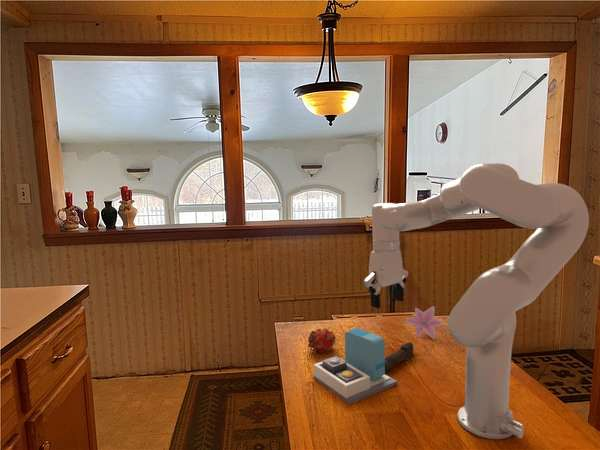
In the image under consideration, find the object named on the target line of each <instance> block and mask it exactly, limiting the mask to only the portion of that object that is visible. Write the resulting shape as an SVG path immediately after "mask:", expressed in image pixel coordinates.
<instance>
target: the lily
mask: <svg viewBox="0 0 600 450" xmlns="http://www.w3.org/2000/svg"><path fill="white" fill-rule="evenodd" d="M435 308H436V307H435V306H433V305H432V306H431V307H429V308H427V309H426V310H424V311H422V310H421V309H419V307H415V308H414V310H415V316H412V317H409V318H407V319H406V320H405V322H406V324H408V325H411V326H413V327H416V328H415V337H416V338H417V337H420V336H421V335H422V334H423V333H425V334H427V335H428V336H429V337H430V338H432V339H433V340H436V338H437V335H436V329H435V327H439V326H440V325H443V322H442V321H440V320H438V319H436V318H435V312H436V309H435Z"/></svg>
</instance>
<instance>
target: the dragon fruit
mask: <svg viewBox="0 0 600 450" xmlns="http://www.w3.org/2000/svg"><path fill="white" fill-rule="evenodd" d="M307 339H308V340H307V341H308V345H307V346H308V347H309V348H310V349H311V351H312V352H316V353H318V354H319V353H320V352H322V353H324V354H327V353H328V351H331V350H332V349H333V346H334V345H335V343H336V342H337V340H336V339H337V337H336V335H335V334H334V332H333V331H329V329H328V328H324V329H322V328H318V329H316V330H311V332H310V333H309V336H308V337H307Z"/></svg>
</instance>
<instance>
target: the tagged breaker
mask: <svg viewBox="0 0 600 450" xmlns="http://www.w3.org/2000/svg"><path fill="white" fill-rule="evenodd" d="M335 376H336V377H338V378H339V379H341V380H342V381H344V382H345V383H348V382H351V381H354V380H356V379H359V378H360V375H358V374H357V373H355V372H354V371H352V370H350V369H346V370H344V371H341V372H338V373H335Z"/></svg>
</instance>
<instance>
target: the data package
mask: <svg viewBox="0 0 600 450" xmlns="http://www.w3.org/2000/svg"><path fill="white" fill-rule="evenodd" d="M385 358H386V342H385V339H384V338H383V337H382V336H380V335H377V334H374V333H372V332H370V331H367V330H364V329H361V328H359V327H356V328H353V329H350V330H347V331H346V332H345V333H344V361H345V362H347V363H348V364H350V365H351V366H353V367H355V368H356V369H358V370H360V371H362V372H363V373H365V374H367V375H368V376H370V380H375V379H377V378H379V377H381V376H383V375H384V374H385ZM385 375H386V374H385Z"/></svg>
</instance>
